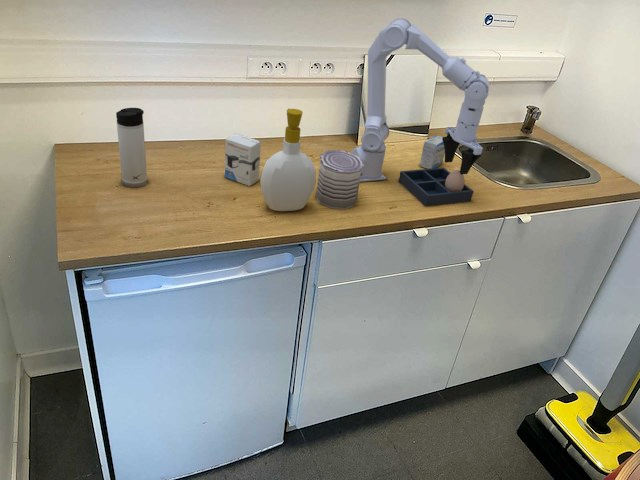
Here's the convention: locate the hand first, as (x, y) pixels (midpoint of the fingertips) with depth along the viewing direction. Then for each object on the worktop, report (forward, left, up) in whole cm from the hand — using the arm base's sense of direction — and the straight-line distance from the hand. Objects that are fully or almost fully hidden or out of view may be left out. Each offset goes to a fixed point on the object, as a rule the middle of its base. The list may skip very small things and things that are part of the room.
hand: (455, 167), depth 154 cm
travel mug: (-84, +23, -9) cm, 88 cm away
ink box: (-56, +20, -9) cm, 60 cm away
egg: (0, -1, -8) cm, 8 cm away
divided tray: (-3, +3, -9) cm, 10 cm away
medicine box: (+6, +19, -9) cm, 21 cm away
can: (-34, +4, -9) cm, 36 cm away
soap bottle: (-49, +3, -9) cm, 50 cm away
